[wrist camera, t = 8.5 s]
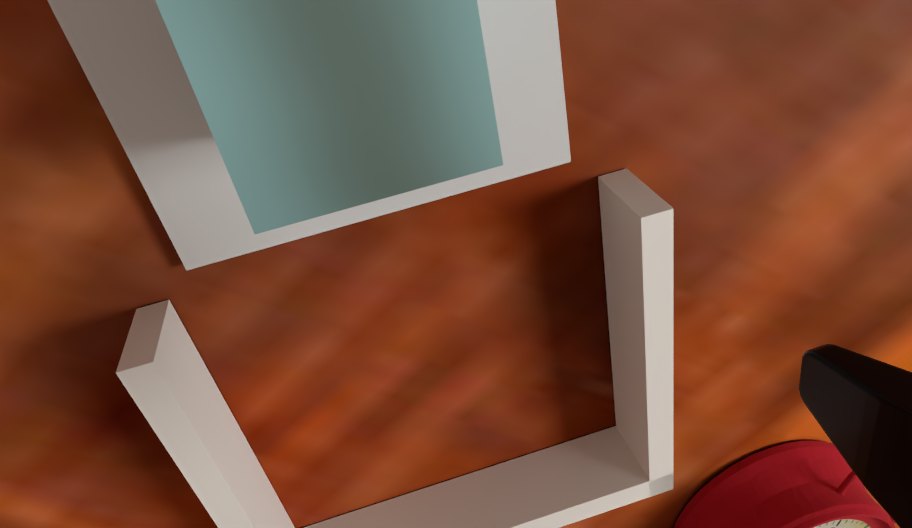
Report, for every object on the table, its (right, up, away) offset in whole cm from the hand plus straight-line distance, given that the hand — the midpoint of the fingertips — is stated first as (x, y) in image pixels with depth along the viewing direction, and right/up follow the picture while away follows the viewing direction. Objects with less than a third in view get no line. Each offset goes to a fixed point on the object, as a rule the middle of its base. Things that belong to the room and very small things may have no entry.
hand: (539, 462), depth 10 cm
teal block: (-5, +9, +6) cm, 12 cm away
